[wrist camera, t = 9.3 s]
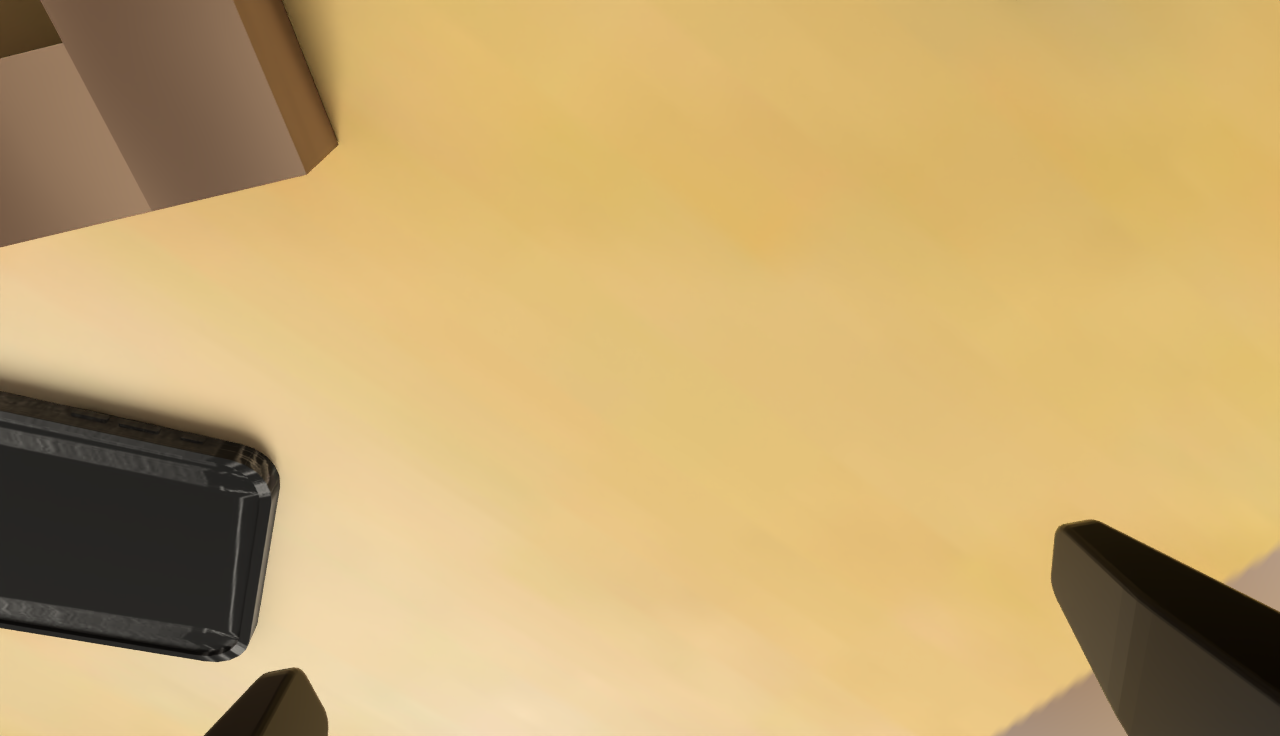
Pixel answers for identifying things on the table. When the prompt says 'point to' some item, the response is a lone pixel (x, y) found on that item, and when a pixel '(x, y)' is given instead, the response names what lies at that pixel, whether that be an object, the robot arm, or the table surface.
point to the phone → (130, 532)
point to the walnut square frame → (152, 111)
